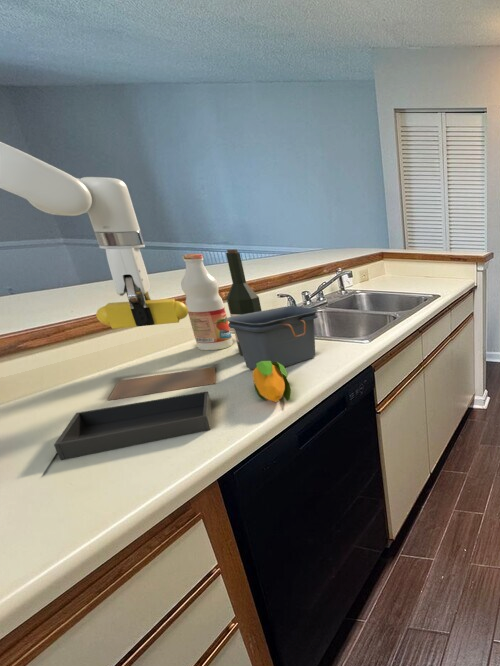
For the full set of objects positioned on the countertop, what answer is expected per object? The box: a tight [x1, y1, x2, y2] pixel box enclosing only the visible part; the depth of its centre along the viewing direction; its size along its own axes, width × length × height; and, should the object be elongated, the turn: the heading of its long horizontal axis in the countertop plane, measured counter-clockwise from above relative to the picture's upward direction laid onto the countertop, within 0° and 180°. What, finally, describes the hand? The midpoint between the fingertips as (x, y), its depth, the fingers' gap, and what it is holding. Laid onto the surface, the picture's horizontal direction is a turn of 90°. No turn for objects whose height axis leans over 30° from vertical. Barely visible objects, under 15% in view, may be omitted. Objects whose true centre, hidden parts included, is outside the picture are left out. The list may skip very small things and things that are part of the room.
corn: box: [252, 361, 292, 403], centre depth 98 cm, size 7×8×20 cm
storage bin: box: [226, 305, 319, 371], centre depth 117 cm, size 21×16×14 cm
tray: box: [53, 390, 212, 461], centre depth 82 cm, size 21×14×4 cm
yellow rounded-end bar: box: [95, 297, 189, 330], centre depth 97 cm, size 16×4×5 cm, turn 122°
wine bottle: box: [225, 248, 263, 357], centre depth 123 cm, size 8×8×30 cm
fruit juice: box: [180, 253, 234, 351], centre depth 128 cm, size 9×9×28 cm
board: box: [107, 366, 216, 402], centre depth 105 cm, size 20×14×1 cm
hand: (147, 322), depth 98 cm, fingers closed on yellow rounded-end bar, 4 cm apart
